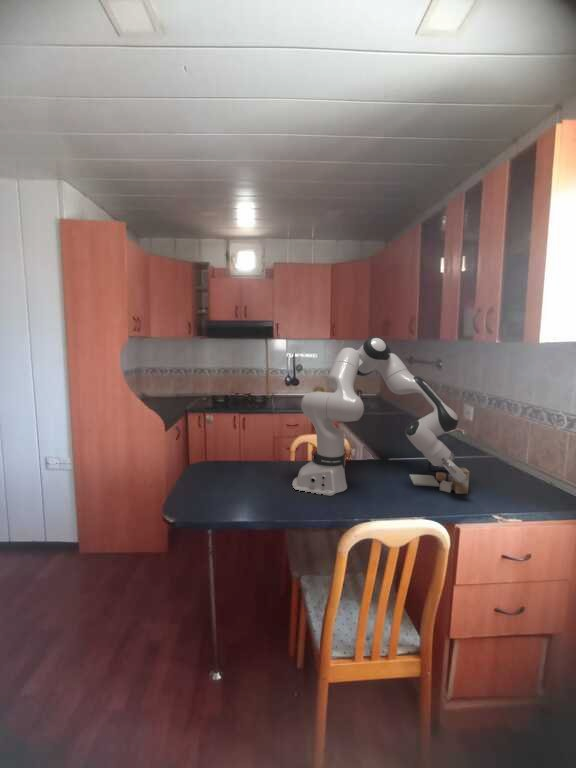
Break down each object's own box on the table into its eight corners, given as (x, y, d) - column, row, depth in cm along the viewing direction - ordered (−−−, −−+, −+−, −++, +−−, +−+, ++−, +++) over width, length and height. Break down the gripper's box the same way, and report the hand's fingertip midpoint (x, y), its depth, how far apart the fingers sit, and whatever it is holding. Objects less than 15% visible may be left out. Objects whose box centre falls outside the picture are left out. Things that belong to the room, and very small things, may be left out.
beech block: (455, 493, 145) (457, 471, 144) (452, 488, 149) (453, 467, 148) (467, 493, 144) (469, 472, 143) (463, 489, 149) (465, 467, 148)
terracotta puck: (437, 482, 156) (437, 475, 156) (434, 478, 160) (435, 471, 160) (446, 482, 156) (447, 475, 155) (444, 478, 160) (444, 472, 159)
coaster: (414, 485, 152) (414, 483, 152) (409, 476, 162) (409, 474, 162) (439, 486, 151) (439, 484, 151) (432, 477, 161) (432, 475, 161)
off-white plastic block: (439, 490, 148) (439, 483, 147) (442, 487, 151) (442, 480, 151) (449, 493, 145) (450, 485, 145) (452, 489, 148) (453, 482, 148)
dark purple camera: (429, 471, 168) (430, 449, 167) (427, 466, 175) (428, 445, 173) (454, 473, 166) (455, 451, 164) (451, 468, 172) (452, 446, 171)
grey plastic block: (453, 484, 154) (453, 477, 154) (447, 480, 158) (448, 474, 157) (461, 483, 154) (462, 477, 154) (456, 480, 158) (456, 473, 158)
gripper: (454, 458, 135) (480, 484, 135) (436, 442, 155) (458, 465, 156) (441, 469, 136) (466, 495, 136) (425, 452, 156) (447, 475, 157)
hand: (462, 479), depth 146 cm, fingers open, 6 cm apart
